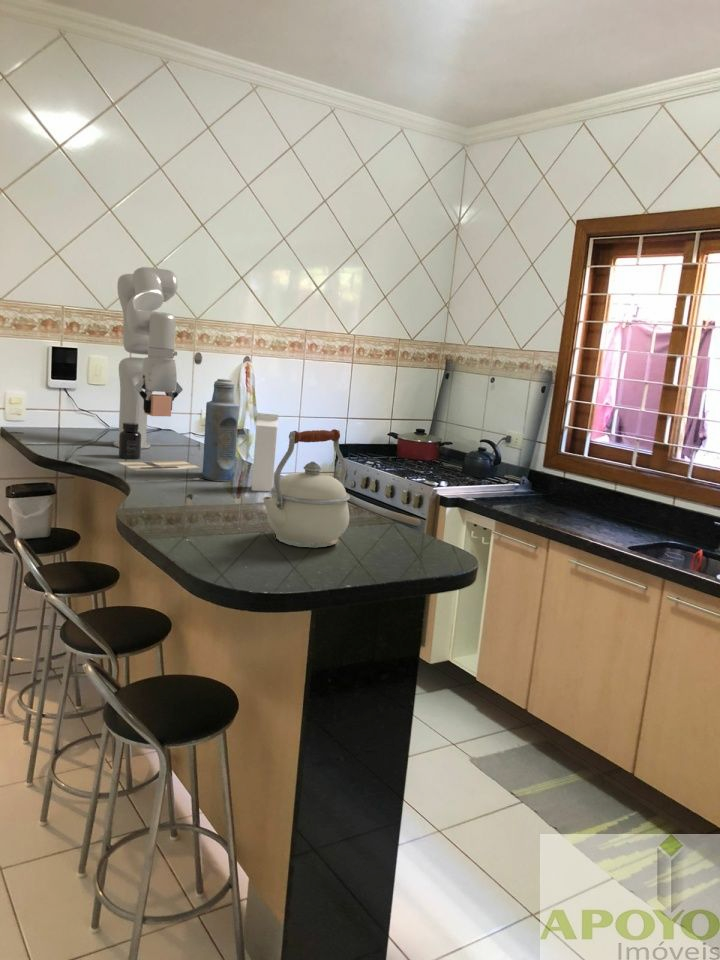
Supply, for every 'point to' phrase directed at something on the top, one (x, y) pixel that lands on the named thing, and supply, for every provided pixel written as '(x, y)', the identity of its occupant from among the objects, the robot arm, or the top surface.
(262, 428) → the milk
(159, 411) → the terracotta block
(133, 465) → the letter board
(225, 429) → the bottle
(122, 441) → the supplement bottle
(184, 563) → the top surface
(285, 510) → the kettle
